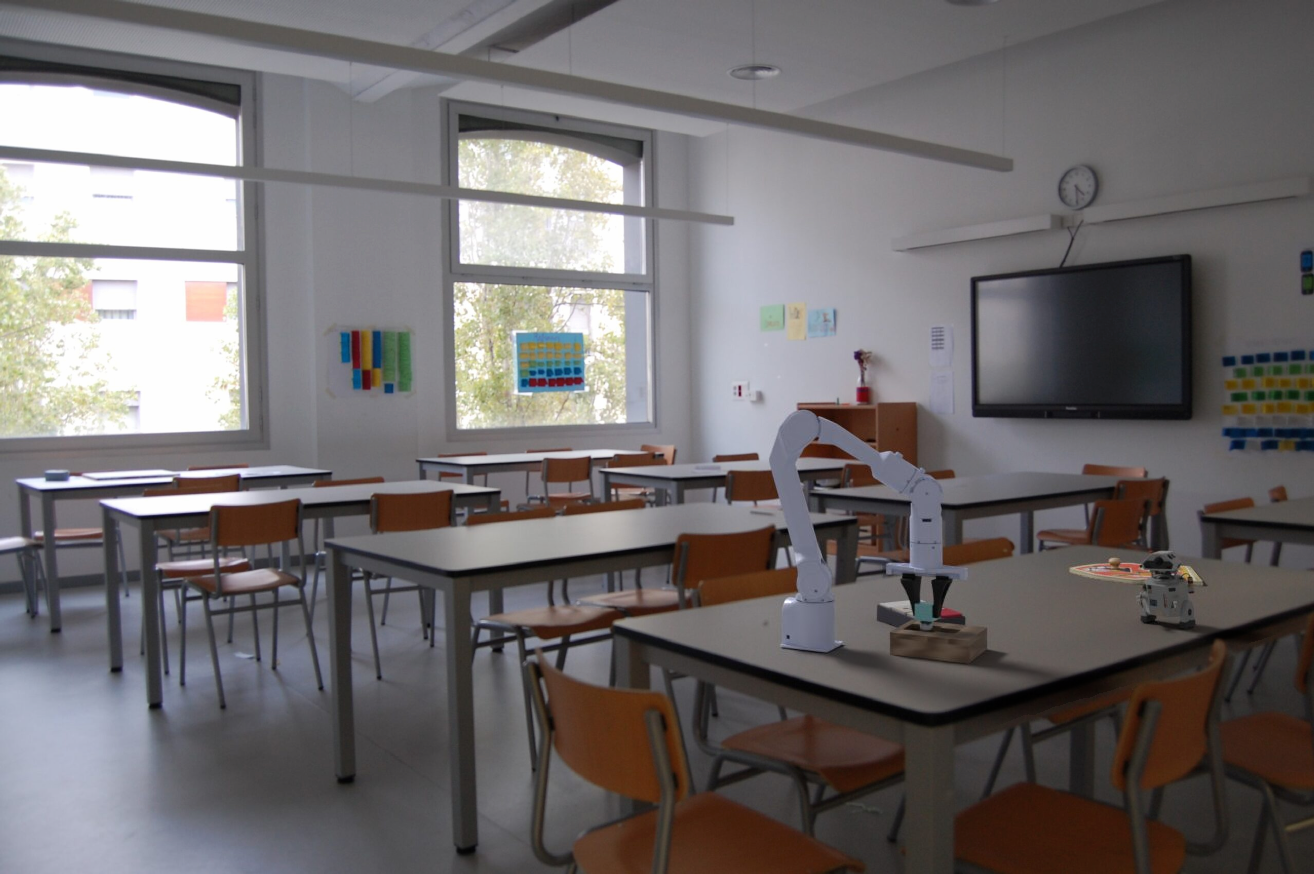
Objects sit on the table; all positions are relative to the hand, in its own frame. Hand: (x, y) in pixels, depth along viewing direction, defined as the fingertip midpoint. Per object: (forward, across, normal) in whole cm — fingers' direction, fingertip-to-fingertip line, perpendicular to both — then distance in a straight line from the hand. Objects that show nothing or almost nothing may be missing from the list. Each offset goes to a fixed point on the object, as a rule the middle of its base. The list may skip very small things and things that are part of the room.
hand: (926, 616), depth 186 cm
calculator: (+7, -8, +20) cm, 22 cm away
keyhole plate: (+6, +2, 0) cm, 7 cm away
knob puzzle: (+7, +20, +102) cm, 105 cm away
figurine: (+6, +34, +40) cm, 54 cm away
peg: (+6, 0, -1) cm, 6 cm away
